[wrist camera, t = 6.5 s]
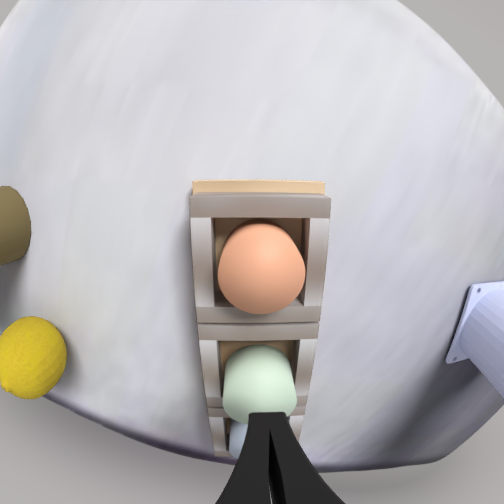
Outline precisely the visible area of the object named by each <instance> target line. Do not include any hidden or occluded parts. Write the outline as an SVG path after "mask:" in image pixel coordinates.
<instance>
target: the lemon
mask: <svg viewBox="0 0 504 504" xmlns="http://www.w3.org/2000/svg"><path fill="white" fill-rule="evenodd" d="M66 359H67V351H66V345H65V342H64V340H63V337H62V335H61V334H60V332H59V331H58V329H57V328H56V327H55V326H54V325H53V324H51V323H50V322H49V321H47V320H45V319H43V318H40V317H35V316H29V317H23V318H20V319H18V320H17V321H15V322H14V323H12V324H11V325H9V326H8V327H7V328H6V329H5V331H4V332H3V333H2V335H1V336H0V382H1V387H2V388H3V390H5V391H6V392H10V393H11V394H13V395H15V396H17V397H20V398H23V399H36V398H39V397H41V396H43V395H44V394H46V393H47V392H49V391H50V390H51V389H52V388H53V387H54V386H55V385H56V384H57V382H58V381H59V379H60V378H61V376H62V374H63V372H64V369H65V366H66Z"/></svg>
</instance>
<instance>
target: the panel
mask: <svg viewBox="0 0 504 504" xmlns="http://www.w3.org/2000/svg"><path fill="white" fill-rule="evenodd" d="M192 183H193V195H192V196H191V197H190V223H191V244H192V261H193V277H194V290H195V303H196V314H197V322H198V335H199V345H200V354H201V363H202V371H203V379H204V387H205V395H206V402H207V406H208V407H207V409H208V416H209V423H210V429H211V435H212V441H213V447H214V453H215V456H221V457H233V456H232V455H231V454H230V452H229V443H230V419H231V417H230V416H229V415H228V414H227V413H226V412H225V410H224V408H223V391H224V378H225V366H226V362H227V360H228V358H229V357H230V356H231V355H232V354H233V353H234V352H235V351H237V350H238V349H240V348H242V347H245V346H249V345H254V344H264V345H269V346H273V347H275V348H277V349H279V350H281V351H282V352H283V353H284V354H285V355H286V356H287V358H288V360H289V362H290V367H291V372H292V377H293V382H294V387H295V392H296V397H297V404H296V407H295V409H294V410H293V412H292V413H291V414H290V415H289V416H287V419H288V421H289V424H290V426H291V428H292V430H293V433H294V435H295V437H296V439H297V441H299V437H300V432H301V428H302V423H303V418H304V413H305V408H306V403H307V398H308V392H309V387H310V381H311V375H312V369H313V363H314V357H315V351H316V344H317V337H318V330H319V322H318V321H320V315H321V307H322V299H323V290H324V281H325V272H326V261H327V250H328V238H329V225H330V209H331V198H329V197H327V196H325V195H324V192H325V183H323V182H319V181H294V180H195V181H193V182H192ZM254 219H264V220H269V221H272V222H275V223H277V224H278V225H280V226H281V227H283V228H284V229H285V230H286V231H287V232H288V234H289V235H290V237H291V238H292V240H293V242H294V244H295V245H296V247H297V249H298V251H299V253H300V254H301V256H302V259H303V261H304V265H305V280H304V284H303V287H302V289H301V291H300V293H299V295H298V296H297V297H296V298H295V300H294V301H293V302H292V303H290V304H289V305H288V306H286V307H285V308H283V309H281V310H279V311H276V312H273V313H269V314H252V313H248V312H245V311H242V310H240V309H238V308H237V307H235V306H234V305H232V304H231V303H230V302H229V301H228V300H227V299H226V297H225V296H224V294H223V293H222V291H221V289H220V286H219V282H218V267H219V263H220V258H221V254H222V250H223V246H224V243H225V240H226V238H227V237H228V235H229V234H230V232H231V231H232V230H233V229H234V228H236V227H237V226H238V225H240V224H242V223H244V222H246V221H249V220H254Z"/></svg>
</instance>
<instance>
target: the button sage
mask: <svg viewBox="0 0 504 504" xmlns="http://www.w3.org/2000/svg"><path fill="white" fill-rule="evenodd" d="M296 404H297V397H296V392H295V387H294V382H293V377H292V372H291V367H290V362H289V360H288V358H287V356H286V355H285V354H284V353H283V352H282V351H281V350H279V349H277V348H275V347H273V346H269V345H264V344H254V345H249V346H245V347H242V348H240V349H238V350H237V351H235V352H234V353H233V354H232V355H231V356H230V357H229V358H228V360H227V362H226V366H225V378H224V391H223V408H224V410H225V412H226V413H227V414H228V415H229V416H230V417H231V418H232V419H234V420H236V421H238V422H240V423H243V424H248V418H249V414H250V413H251V412H284V413H286V416H289V415H290V414H291V413H292V412H293V410H294V409H295V407H296Z"/></svg>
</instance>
